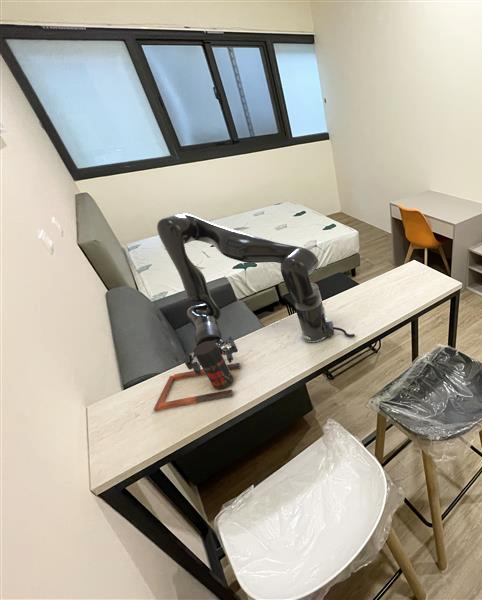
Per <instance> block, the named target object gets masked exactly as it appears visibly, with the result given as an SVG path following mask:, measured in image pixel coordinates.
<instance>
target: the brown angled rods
mask: <svg viewBox="0 0 482 600" xmlns="http://www.w3.org/2000/svg"><path fill="white" fill-rule="evenodd" d="M227 366H228V368H229V370H230V371H236V370H240V369H241V366H242V365H241V363H240V362H235V363H228V364H227ZM200 369H201V368H200ZM202 376H203V377H204V376H207V375H206V373H205V372H204V370H203V368H202V369H201V374H200V375H198V374H195V372H194V370H188V371H185V372H179V373H178V372H177V373H174V374H173V375H169V377H168V379H167V381H166V383H165V386H164V387H163V390H162V391H161V393H160V395H159V397H158V399H157V401H156V403H155V406H154V408H153V410H154V412H159V411H163V410H164V411H165V410H169V409H174V408H178V407H185V406H188V405H194V404H199V403H205V402H210V401H214V400H219V399H220V400H221V399H226V398H230V397H233V396H234V390H233V389H232V388H231V389H227V390H226V389H225V390H223V391H222V390H219V391H216V392H215V391H214V392H210V393H205V394H200V395H194V396H190V397H184V398H179V399H174V400H168V401H166V399H167V398H168V396H169V393H170V392H171V389H172V388H173V385H174V383H175V381H181V380H186V379H192V378H197V377H202Z"/></svg>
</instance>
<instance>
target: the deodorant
mask: <svg viewBox="0 0 482 600" xmlns="http://www.w3.org/2000/svg"><path fill="white" fill-rule="evenodd" d="M193 352H194V354H195V358H197V359H198V361H199V363H200V365H201V366H200V367H201V368H202V369H203V370H204V372H205V373H206V375H205V376H206V377H207V379H208V381H209V382H210V385H212V387H213V389H214V390H216V391H222V390H223V391H224V390H226V389H227V388H230V386H232V384H233V383H234V379H235V378H234V376H233V374H232V372H231V370H229V368H228V366H227V365H228V364H227V362H226V360H225V359H224V355H222V354H221V352H220V350H219V348H218V347H217V345H216V343H215V342H214V341H206V342H203V343H201V344H199V345H198V346H196V345H195V348H194V349H193Z"/></svg>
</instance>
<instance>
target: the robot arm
mask: <svg viewBox="0 0 482 600" xmlns="http://www.w3.org/2000/svg"><path fill="white" fill-rule="evenodd" d="M156 231H157V234H158V237H159V239H160V241H161V243H162V245H163V247H164V249H165V250H166V252H167V254H168V256H169V259H170V260H171V262H172V264H173V265H174V268H175V269H176V271H177V273H178V275H179V277H180V280H181V283H182V286H183V289H184V293H185V295H186V298H187V300H188V301H190V302H194V303H202V304H197V305H192V306H190V307H189V308H188V309H187V310H186V318H187V320H188V321H189V322H190V324H191V325H192V326H193V327H194V339H195V340H194V341H195V347H196V346H198V345H199V344H201V343H203V342H206V341H214V342H215V343H216V345H217V347H218V348H219V350H220V352H221V354H222V356H223V357H224V356H226V360H227V362H228V364H232V362H233V361H234V356H233V354H234V353H237V352H238V348H237V344H236V343H235V341H234V338H233V336H229V337H227V339H226V340H223V337H222V332H221V330H220V327H219V324H218V320H219V319H220V317H221V313H222V312H221V309H220V308H219V307H220V306H218V304H217V303H216V301H215V300H214V299H213V297H212V295H211V293H210V291H209V290H210V289H209V287H208V283H207V279H206V277H205V275H204V273H203V272H202V271H201V270H200V268H199V267H197V266H196V265H195V264H194V263H193V262H192V260H191V259H190V258H189V256H188V254H187V251H186V247H185V244H189V243H191V242H193V241H195V242H197V241H198V242H202V243H206V244H210V245H212V246H214V247H215V248H216V250H217V251H218V252H219V253H220V254H222V255H223V256H224V257H227V258H229V259H232V260H235V261H238V262H240V263H241V262H242V263H247V264H261V263H276V264H277V263H278V264H280V267H279V269H280V273H281V276H282V279H283V282H284V285H285V288H286V290H287V293H288V294H289V295H290V296H291V298H292V302H293V305H294V309H295V312H296V316H297V319H298V323H299V326H300V329H301V333H302V337H303V340H304V341H305V342H307V343H313V344H314V343H320V342H322V341H324V340H325V339H328V338H330V336H335V331H340V332H341V333H343V335H345V336H346V337H348V338H352V337H353V338H354V337H355V333H351V334H350V333H347V331H346V330H345V329H343V328H341V327H336V326H334V323H333V320H331V321H328V318H327V314H326V309H325V306H324V305H323V304H324V303H323V300H322V294H321V291H320V287H319V285H318V284H317V283H315V282H312V281H311V279H310V277H311V276H312V275H313V273H314V272H315V271H316V270H317V268H318V266H319V260H318V257H317V255H316V254H315V253H314V252H313V251H312V250H310V249H308V248H305V247H302V246H299V245H298V246H297V245H291V244H287V243H286V244H285V243H282V242H281V243H280V242H276V241H274V240H273V241H272V240H269V239H266V238H263V237H259V236H255V235H252V234H249V233H247V232H242V231H239V230H235V229H231V228H228V227H224V226H221V225H217V224H215V223H211V222H209V221H206V220H204V219H201V218H199V217H197V216H194V215H192V214H188V213H177V214H175V215H171V216H167V217H163V218H161V219H160V220H158V221H157V224H156ZM227 346H228V347H227ZM184 357H185V358H184V364H185V366H186V368H187V369H188V371H194V372H195V374H198V375H200V374H201V367H202V366H201V365H200V363H199V361H198V359H197V358H196V356H195V354H194V351H193V352H190V351H187V352H185V353H184Z"/></svg>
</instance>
